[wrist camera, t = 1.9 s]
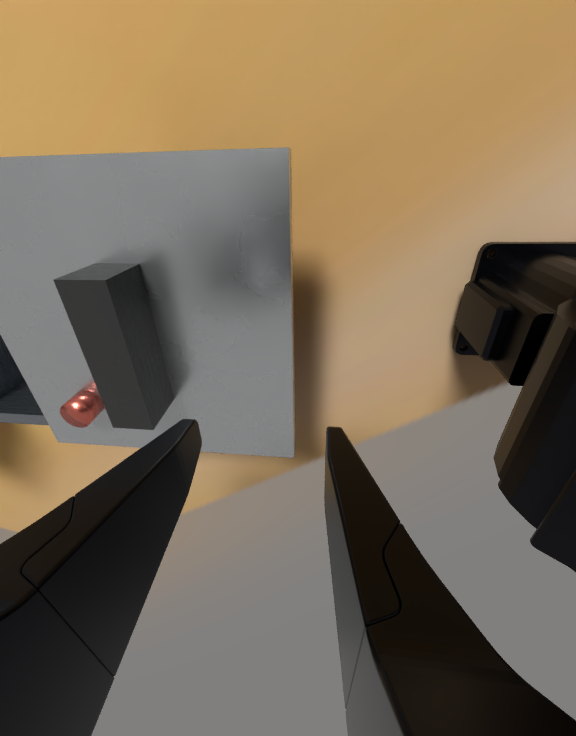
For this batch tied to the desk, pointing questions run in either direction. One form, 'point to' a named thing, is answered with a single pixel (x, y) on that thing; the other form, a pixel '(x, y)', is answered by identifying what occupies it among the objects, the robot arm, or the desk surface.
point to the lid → (153, 294)
